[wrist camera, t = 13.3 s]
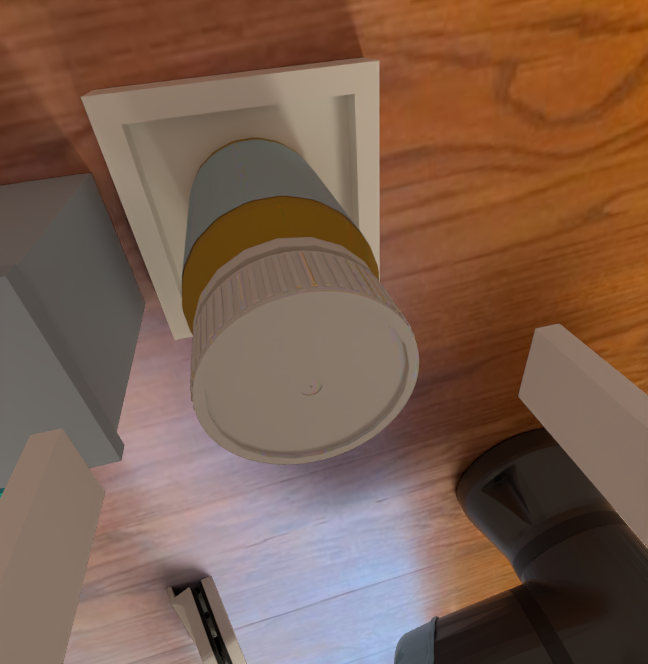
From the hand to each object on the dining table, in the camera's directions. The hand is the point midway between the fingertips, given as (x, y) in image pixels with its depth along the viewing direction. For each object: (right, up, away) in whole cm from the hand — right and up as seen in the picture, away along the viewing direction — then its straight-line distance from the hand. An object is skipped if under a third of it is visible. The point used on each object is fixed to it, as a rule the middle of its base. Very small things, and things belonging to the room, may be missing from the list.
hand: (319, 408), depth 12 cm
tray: (-4, +10, +12) cm, 16 cm away
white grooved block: (-14, -32, +40) cm, 53 cm away
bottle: (-4, +9, +11) cm, 15 cm away
